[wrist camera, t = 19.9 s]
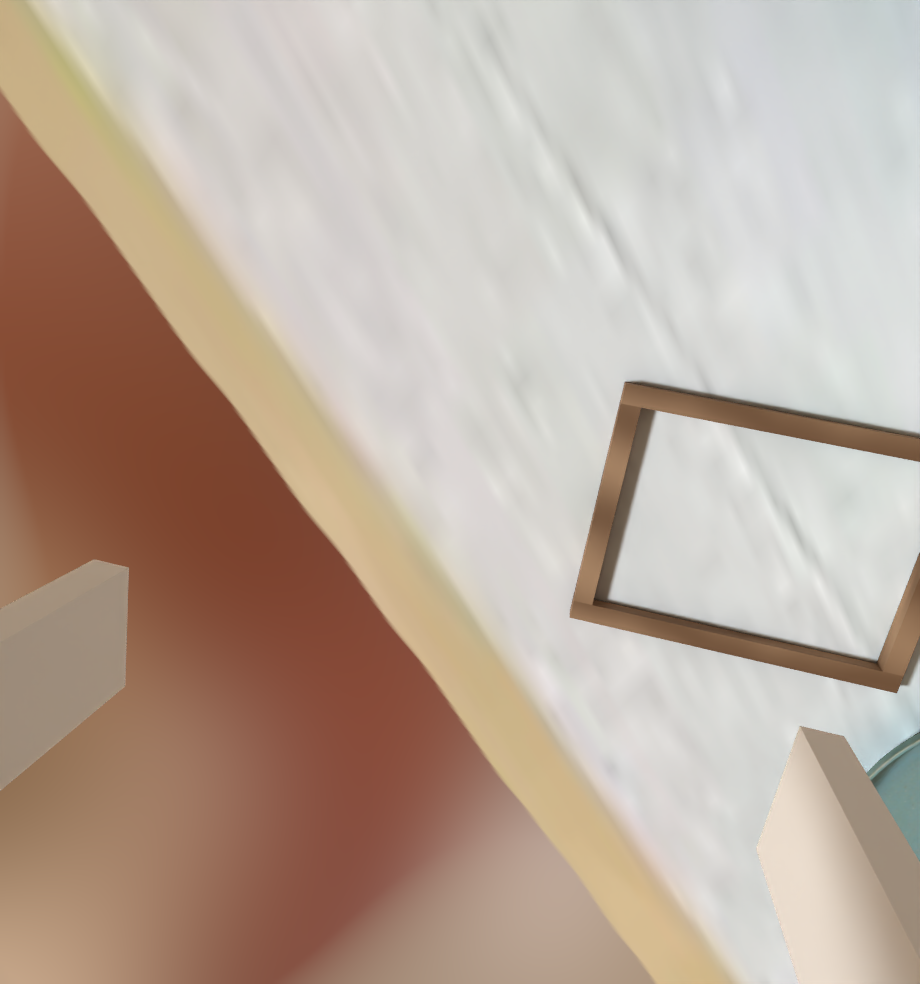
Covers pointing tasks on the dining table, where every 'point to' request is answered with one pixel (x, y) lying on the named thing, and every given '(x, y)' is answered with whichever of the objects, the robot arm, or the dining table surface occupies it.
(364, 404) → the dining table surface
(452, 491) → the dining table surface
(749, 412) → the wooden picture frame
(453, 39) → the dining table surface
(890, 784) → the teal round plate
